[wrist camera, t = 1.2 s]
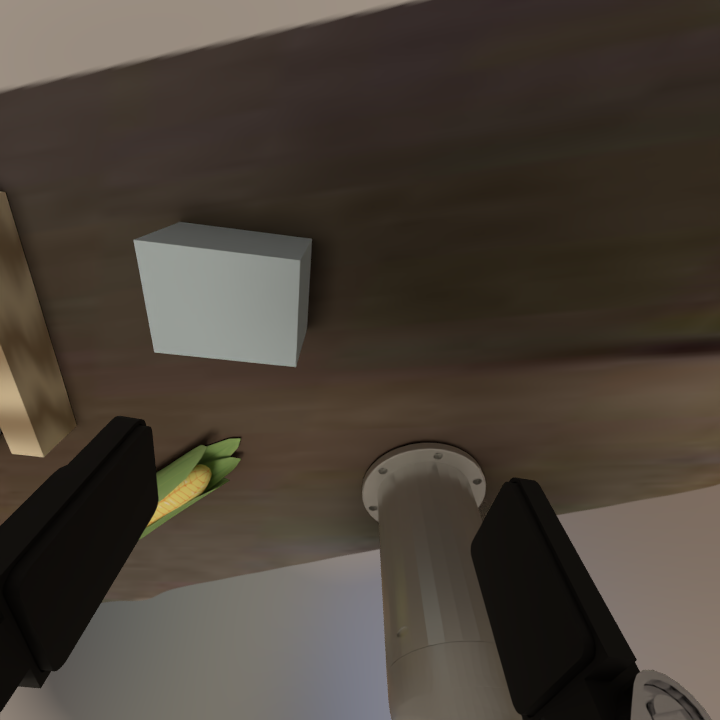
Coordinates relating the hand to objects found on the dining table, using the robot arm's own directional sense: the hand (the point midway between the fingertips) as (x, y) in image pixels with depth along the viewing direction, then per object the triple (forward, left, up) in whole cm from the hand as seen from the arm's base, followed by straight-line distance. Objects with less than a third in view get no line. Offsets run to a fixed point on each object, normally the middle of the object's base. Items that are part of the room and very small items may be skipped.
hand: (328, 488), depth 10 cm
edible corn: (-24, +15, -20) cm, 34 cm away
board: (-8, +24, -19) cm, 32 cm away
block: (-1, +7, -20) cm, 21 cm away
